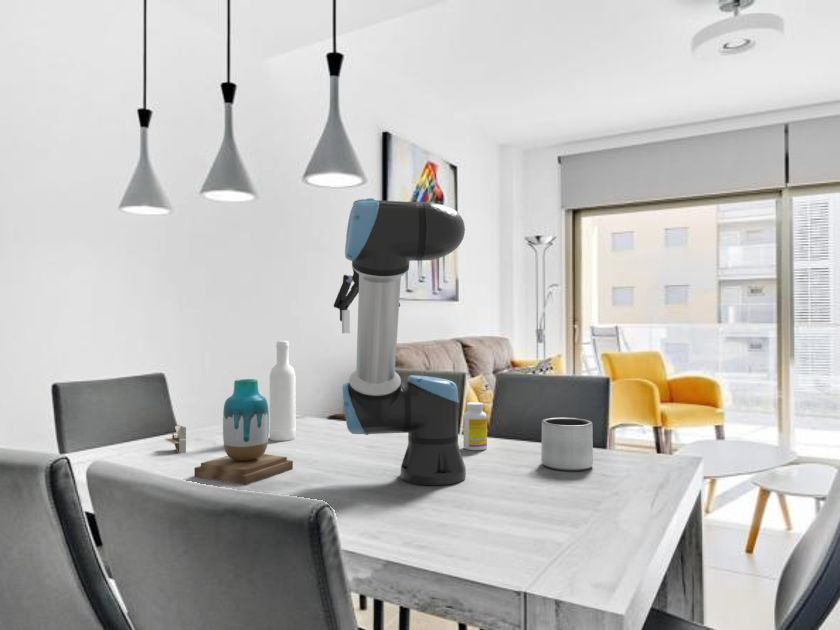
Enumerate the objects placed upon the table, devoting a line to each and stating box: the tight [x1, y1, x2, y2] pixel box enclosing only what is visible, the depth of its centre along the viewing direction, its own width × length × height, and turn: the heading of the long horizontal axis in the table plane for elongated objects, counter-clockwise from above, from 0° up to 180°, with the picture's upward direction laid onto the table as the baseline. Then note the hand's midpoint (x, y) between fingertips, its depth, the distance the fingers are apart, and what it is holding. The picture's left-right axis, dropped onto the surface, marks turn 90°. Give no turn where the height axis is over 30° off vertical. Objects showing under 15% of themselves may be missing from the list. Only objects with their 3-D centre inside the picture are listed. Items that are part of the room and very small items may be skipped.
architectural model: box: [164, 424, 187, 454], centre depth 168 cm, size 3×7×7 cm, turn 42°
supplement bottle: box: [462, 401, 488, 452], centre depth 171 cm, size 7×7×13 cm
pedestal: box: [194, 453, 294, 486], centre depth 144 cm, size 16×16×3 cm
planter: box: [540, 417, 594, 472], centre depth 151 cm, size 12×12×11 cm
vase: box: [222, 378, 270, 461], centre depth 144 cm, size 11×11×19 cm
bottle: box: [269, 340, 297, 442], centre depth 185 cm, size 8×8×30 cm
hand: (366, 333), depth 166 cm, fingers open, 13 cm apart
